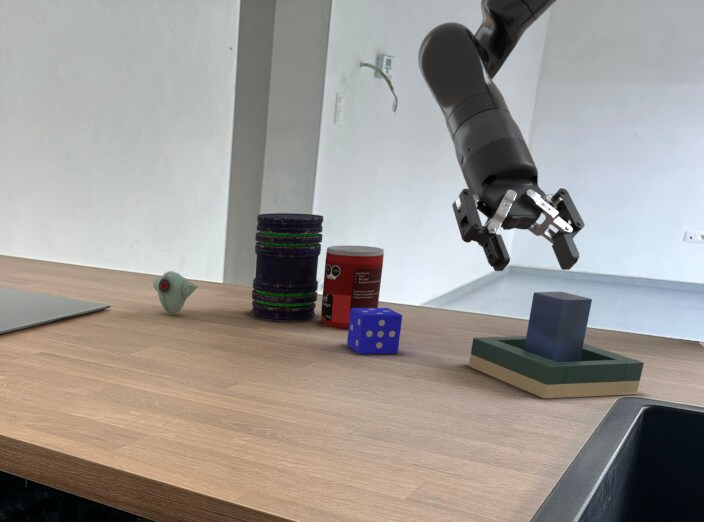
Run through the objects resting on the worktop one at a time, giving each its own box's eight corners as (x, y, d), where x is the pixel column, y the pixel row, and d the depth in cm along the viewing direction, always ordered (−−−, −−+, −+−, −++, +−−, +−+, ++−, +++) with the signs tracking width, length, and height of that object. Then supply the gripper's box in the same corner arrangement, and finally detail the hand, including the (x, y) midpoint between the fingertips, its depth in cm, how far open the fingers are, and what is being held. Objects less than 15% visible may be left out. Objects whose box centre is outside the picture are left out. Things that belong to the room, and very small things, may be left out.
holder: (551, 363, 104) (556, 334, 103) (637, 394, 91) (644, 362, 90) (468, 366, 103) (472, 337, 101) (543, 398, 90) (549, 366, 88)
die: (398, 354, 109) (402, 314, 107) (359, 354, 108) (363, 315, 107) (383, 345, 113) (388, 307, 112) (346, 345, 113) (350, 307, 111)
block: (549, 360, 99) (561, 291, 96) (578, 371, 94) (592, 298, 92) (521, 361, 99) (533, 292, 96) (549, 372, 94) (563, 299, 91)
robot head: (199, 316, 131) (201, 272, 129) (182, 320, 129) (184, 274, 126) (159, 310, 137) (160, 267, 134) (142, 313, 134) (143, 269, 132)
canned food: (326, 317, 131) (332, 244, 127) (379, 322, 128) (388, 247, 124) (314, 326, 125) (321, 249, 121) (371, 331, 121) (379, 252, 118)
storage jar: (284, 307, 139) (291, 212, 134) (329, 317, 131) (338, 216, 126) (237, 313, 134) (242, 214, 129) (280, 324, 126) (288, 219, 121)
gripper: (454, 134, 100) (498, 246, 93) (564, 135, 102) (614, 244, 96) (425, 180, 107) (463, 287, 100) (529, 180, 109) (573, 284, 102)
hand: (537, 266), depth 98 cm, fingers open, 8 cm apart
